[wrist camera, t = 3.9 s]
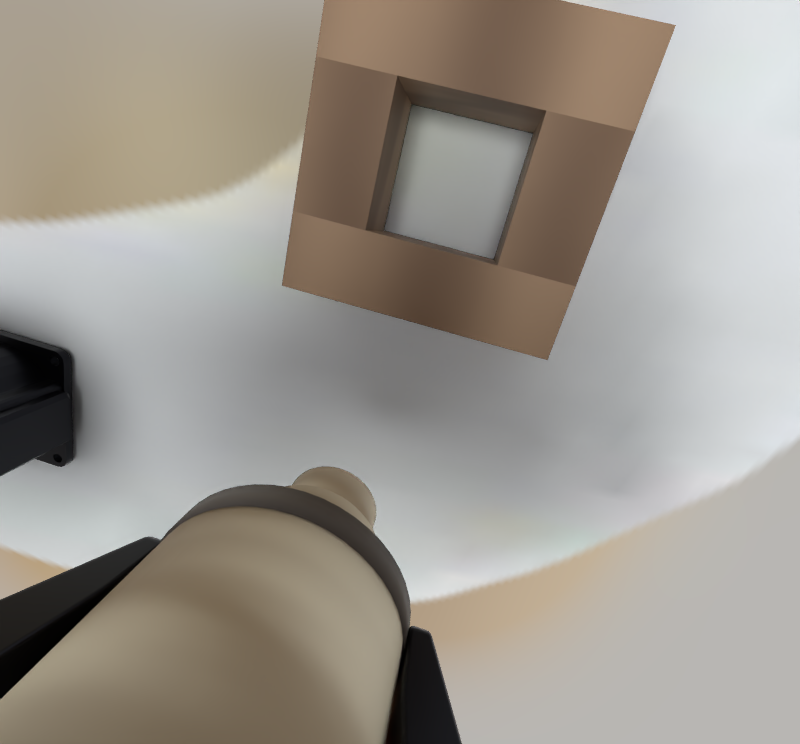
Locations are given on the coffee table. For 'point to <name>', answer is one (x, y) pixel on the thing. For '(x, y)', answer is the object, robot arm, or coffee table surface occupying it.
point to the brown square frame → (482, 100)
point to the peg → (235, 631)
